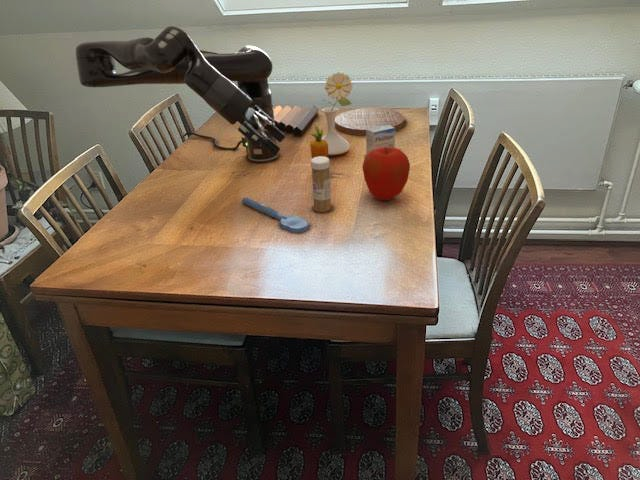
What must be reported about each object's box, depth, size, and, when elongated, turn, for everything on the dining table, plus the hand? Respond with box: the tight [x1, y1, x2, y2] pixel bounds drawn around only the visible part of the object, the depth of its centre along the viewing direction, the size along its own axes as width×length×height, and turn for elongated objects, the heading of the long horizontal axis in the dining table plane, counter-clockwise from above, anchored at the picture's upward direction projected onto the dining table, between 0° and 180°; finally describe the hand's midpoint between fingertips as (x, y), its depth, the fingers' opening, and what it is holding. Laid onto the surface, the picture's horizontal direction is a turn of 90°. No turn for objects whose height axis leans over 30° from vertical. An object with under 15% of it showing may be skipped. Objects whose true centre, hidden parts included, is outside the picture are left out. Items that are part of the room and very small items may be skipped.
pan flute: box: [273, 104, 319, 137], centre depth 194 cm, size 25×3×25 cm
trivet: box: [335, 107, 405, 136], centre depth 190 cm, size 25×25×2 cm
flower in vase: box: [322, 71, 354, 156], centre depth 161 cm, size 13×11×25 cm
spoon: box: [241, 196, 309, 234], centre depth 132 cm, size 24×5×2 cm, turn 45°
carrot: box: [310, 125, 329, 159], centre depth 147 cm, size 5×5×15 cm
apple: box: [361, 147, 411, 201], centre depth 134 cm, size 12×12×14 cm
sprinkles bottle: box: [310, 156, 332, 213], centre depth 131 cm, size 5×5×14 cm
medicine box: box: [365, 125, 396, 156], centre depth 161 cm, size 8×4×9 cm, turn 118°
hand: (280, 145), depth 127 cm, fingers open, 8 cm apart
